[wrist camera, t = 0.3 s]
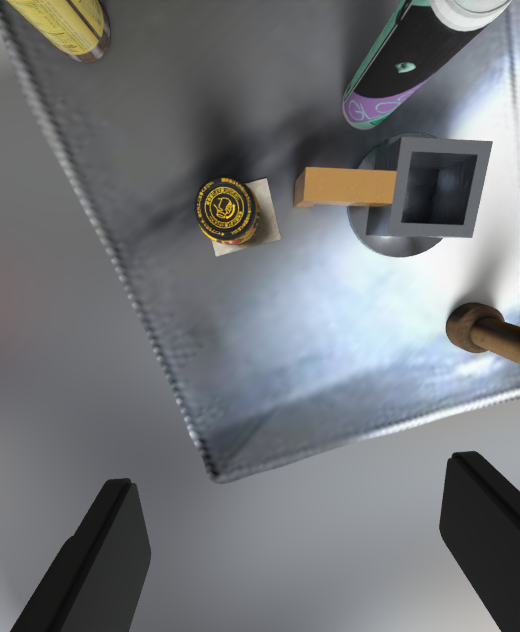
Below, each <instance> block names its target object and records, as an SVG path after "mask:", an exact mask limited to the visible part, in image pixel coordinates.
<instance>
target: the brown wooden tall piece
mask: <svg viewBox="0 0 520 632" xmlns="http://www.w3.org/2000/svg"><path fill="white" fill-rule="evenodd" d="M446 333H447V336H448V338H449V340H450V341H451V342H452V343H453V344H454V345H456V346H457V347H459V348H462V349H464V350H466V351H468V352H471V353H482V352H486V351H488V350H489V351H491V352H494V353H496V354H498V355H500V356H503V357H505V358H507V359H509V360H511V361H514V362H516V363H518V364H520V327H519V326H516V325H513V324H509V323H506V322H505V321H504V318H503V316H502V314H501V313H500V312H499V311H498V310H497V309H495V308H493V307H491V306H487V305H483V304H480V303H467V304H464V305H462V306H460V307H458V308H457V309H456V310H455V311H454V312H453V313H452V314H451V316H450V317H449V319H448V322H447V326H446Z"/></svg>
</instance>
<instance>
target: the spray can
mask: <svg viewBox="0 0 520 632" xmlns="http://www.w3.org/2000/svg"><path fill="white" fill-rule="evenodd" d="M511 1H512V0H401V2H400V3H399V5H398V6H397V8H396V10H395V11H394V13H393V14H392V16H391V18H390V19H389V21H388V22H387V24H386V26H385V27H384V29H383V30H382V32H381V34H380V35H379V37H378V38H377V40H376V42H375V43H374V45H373V46H372V48H371V50H370V51H369V53H368V54H367V56H366V58H365V59H364V61H363V62H362V64H361V66H360V67H359V69H358V70H357V72H356V74H355V75H354V77H353V78H352V80H351V82H350V83H349V85H348V86H347V88H346V90H345V93H344V96H343V100H342V110H343V114H344V117H345V119H346V120H347V122H348V123H349V124H350V125H351V126H352V127H354V128H356V129H359V130H369V129H372V128H374V127H375V126H377V125H378V124H380V123H381V122H382V121H383V120H384V119H385V118H386V117H387V116H388V115H390V114H391V113H392V112H393V111H394V110H395V109H396V108H397V107H398V106H399V105H401V104H402V103H403V102H404V101H405V100H406V99H407V98H408V97H409V96H410V95H412V94H413V93H414V92H415V91H416V90H417V89H418V88H419V87H420V86H421V85H423V84H424V83H425V82H426V81H427V80H428V79H429V78H430V77H431V76H432V75H434V74H435V73H436V72H437V71H438V70H439V69H440V68H441V67H442V66H443V65H444V64H446V63H447V62H448V61H449V60H450V59H451V58H452V57H453V56H454V55H455V54H457V53H458V52H459V51H460V50H461V49H462V48H463V47H464V46H465V45H466V44H468V43H469V42H470V41H471V40H472V39H473V38H474V37H475V36H476V35H477V34H479V33H480V32H481V31H482V30H483V29H484V28H485V27H486V26H487V25H488V24H490V23H491V22H492V21H493V20H494V19H495V18H496V17H497V16H498V15H499V14H501V13H502V12H503V11H504V9H505V8H506V7H507V6H508V5H509V3H510V2H511Z"/></svg>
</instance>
